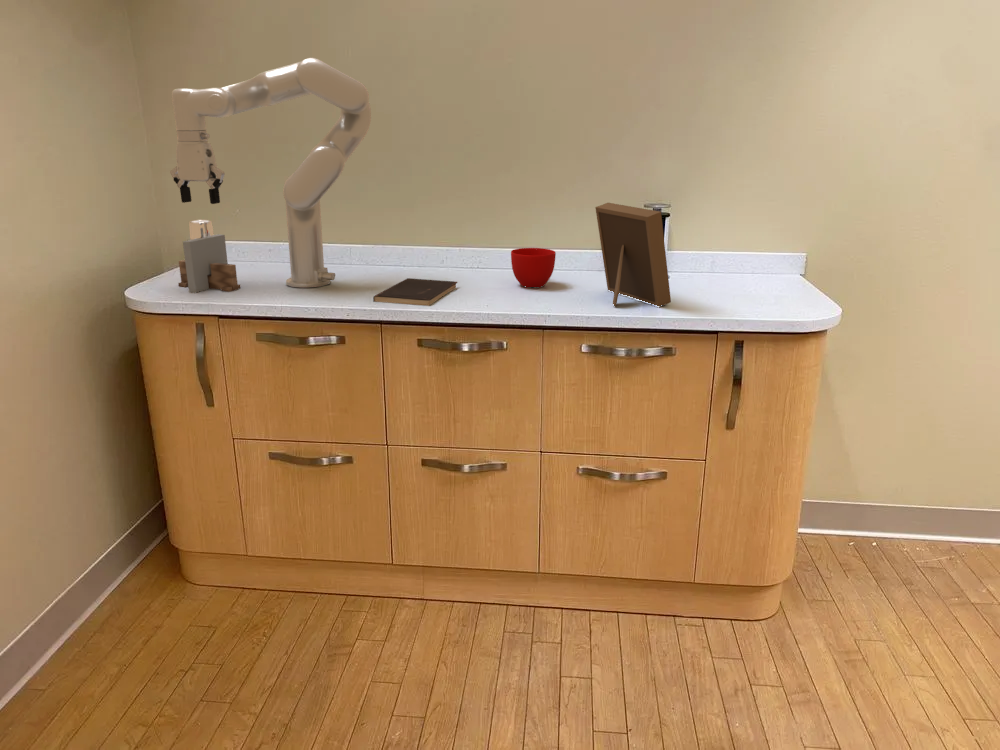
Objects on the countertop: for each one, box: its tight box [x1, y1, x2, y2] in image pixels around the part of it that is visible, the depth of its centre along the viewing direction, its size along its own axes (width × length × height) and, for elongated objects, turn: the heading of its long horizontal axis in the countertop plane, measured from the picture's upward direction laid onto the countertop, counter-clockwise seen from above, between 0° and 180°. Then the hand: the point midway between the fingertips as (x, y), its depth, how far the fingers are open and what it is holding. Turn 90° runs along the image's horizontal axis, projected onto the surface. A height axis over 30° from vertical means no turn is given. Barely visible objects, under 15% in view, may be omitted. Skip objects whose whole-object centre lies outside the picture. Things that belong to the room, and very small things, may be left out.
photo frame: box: [594, 202, 672, 307], centre depth 203 cm, size 15×22×25 cm
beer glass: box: [188, 219, 215, 240], centre depth 240 cm, size 7×7×15 cm
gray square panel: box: [182, 233, 229, 293], centre depth 215 cm, size 2×14×14 cm, turn 159°
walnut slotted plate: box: [178, 259, 242, 293], centre depth 216 cm, size 18×5×7 cm, turn 70°
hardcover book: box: [373, 277, 458, 307], centre depth 212 cm, size 16×23×2 cm
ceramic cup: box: [510, 247, 557, 288], centre depth 224 cm, size 13×17×10 cm
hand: (200, 202), depth 209 cm, fingers open, 9 cm apart
